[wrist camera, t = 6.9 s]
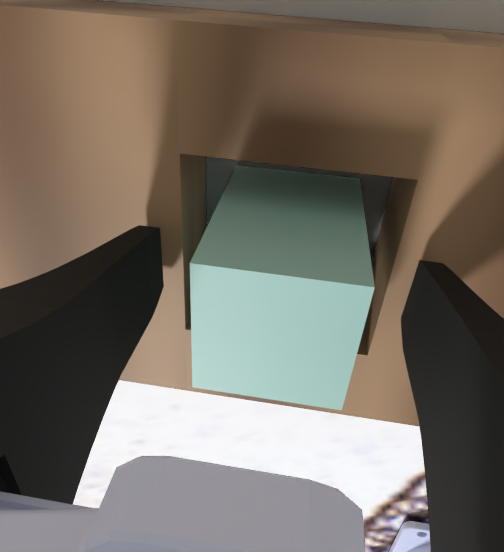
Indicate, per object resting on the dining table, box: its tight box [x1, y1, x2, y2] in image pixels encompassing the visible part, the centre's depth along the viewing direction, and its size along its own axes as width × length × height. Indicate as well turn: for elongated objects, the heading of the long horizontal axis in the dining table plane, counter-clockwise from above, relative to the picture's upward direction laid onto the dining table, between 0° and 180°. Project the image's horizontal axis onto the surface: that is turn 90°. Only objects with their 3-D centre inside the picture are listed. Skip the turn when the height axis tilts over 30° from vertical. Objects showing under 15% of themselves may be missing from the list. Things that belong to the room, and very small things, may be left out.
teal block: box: [190, 165, 375, 410], centre depth 13 cm, size 4×4×6 cm
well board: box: [0, 0, 504, 426], centre depth 14 cm, size 22×12×3 cm, turn 86°
